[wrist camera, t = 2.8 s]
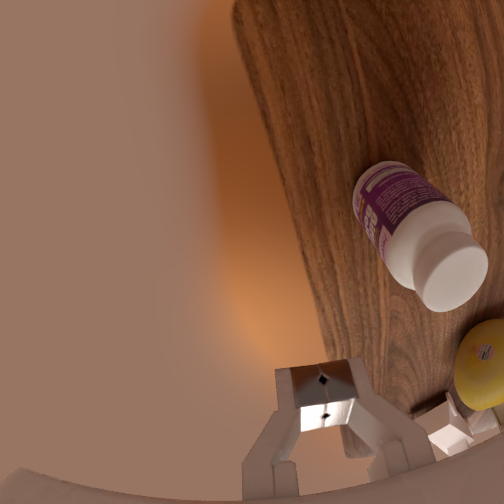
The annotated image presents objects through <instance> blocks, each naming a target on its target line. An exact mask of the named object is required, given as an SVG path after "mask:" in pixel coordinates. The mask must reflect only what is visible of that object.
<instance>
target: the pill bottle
mask: <svg viewBox="0 0 504 504" xmlns="http://www.w3.org/2000/svg"><path fill="white" fill-rule="evenodd" d="M353 209H354V213H355V215H356V217H357V219H358V221H359V222H360V224H361V226H362V227H363V229H364V230H365V232H366V234H367V235H368V237H369V238H370V240H371V242H372V243H373V245H374V246H375V248H376V250H377V251H378V253H379V254H380V256H381V258H382V259H383V261H384V263H385V264H386V266H387V268H388V270H389V271H390V273H391V275H392V276H393V277H394V278H395V279H396V281H398V282H399V283H400V284H401V285H403V286H404V287H406V288H409V289H412V290H416V292H417V294H418V295H419V296H420V298H421V299H422V301H423V302H424V304H425V305H426V307H427V308H429V309H430V310H432V311H435V312H446V311H449V310H452V309H455V308H457V307H459V306H460V305H462V304H464V303H465V302H466V301H468V300H469V299H470V298H471V297H472V296H473V295H474V294H475V293H476V291H477V290H478V289H479V287H480V286H481V284H482V283H483V281H484V279H485V276H486V273H487V269H488V258H487V255H486V253H485V251H484V249H483V248H482V247H481V246H480V245H479V244H478V243H477V242H476V241H475V239H474V238H473V237H472V232H471V227H470V223H469V221H468V219H467V217H466V215H465V214H464V212H463V211H462V210H461V209H460V208H459V207H458V206H457V205H456V204H454V203H453V202H452V201H451V200H450V199H449V198H447V197H446V196H445V195H444V194H443V193H441V192H440V191H439V190H438V189H436V188H435V187H434V186H433V185H432V184H430V183H429V182H428V181H427V180H425V179H424V178H423V177H422V176H420V175H419V174H418V173H417V172H415V171H414V170H413V169H411V168H410V167H408V166H407V165H405V164H403V163H401V162H397V161H383V162H380V163H378V164H376V165H374V166H372V167H370V168H369V169H368V170H367V171H365V172H364V173H363V175H362V176H361V177H360V178H359V180H358V182H357V184H356V186H355V188H354V192H353Z"/></svg>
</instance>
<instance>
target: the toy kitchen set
mask: <svg viewBox="0 0 504 504" xmlns="http://www.w3.org/2000/svg"><path fill="white" fill-rule="evenodd" d="M490 409H491V411H492V413H493V415H494V418H495V420H496V422H497V424H498V426H499V429H500V431H501V432H503V431H504V402H503V403H502V404H501V405H496V406H493V407H490Z"/></svg>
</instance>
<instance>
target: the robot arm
mask: <svg viewBox="0 0 504 504" xmlns="http://www.w3.org/2000/svg"><path fill="white" fill-rule="evenodd" d="M275 378H276V389H277V399H278V409H279V411H274V413H273V415H272V416H271V418H270V420H269V421H268V423H267V425H266V426H265V428H264V429H263V431H262V433H261V434H260V436H259V437H258V439H257V441H256V442H255V444H254V445H253V447H252V449H251V450H250V452H249V453H248V455H247V456H246V458H245V460H244V461H243V463H242V494H243V501H196V500H195V501H194V500H177V499H165V498H155V497H146V496H138V495H132V494H125V493H119V492H113V491H108V490H103V489H98V488H93V487H89V486H84V485H80V484H76V483H72V482H68V481H64V480H61V479H58V478H54V477H50V476H47V475H44V474H41V473H38V472H35V471H32V470H29V469H26V468H19V469H17V470H16V471H14V472H13V473H12V474H10V475H9V476H8V477H6V479H4V480H3V481H2V482H1V483H0V504H504V431H503V432H501V433H500V434H498V435H496V436H494V437H492V438H490V439H488V440H486V441H484V442H482V443H480V444H478V445H476V446H474V447H471V448H469V449H467V450H464V451H462V452H460V453H457V454H455V455H453V456H450V457H448V458H445V459H443V460H440V461H438V462H436V459H435V456H434V453H433V450H432V447H431V444H430V441H429V438H428V435H427V432H426V430H425V429H424V428H422V427H421V426H420V425H418V424H417V423H416V422H414V421H413V420H412V419H411V418H409V417H408V416H407V415H405V414H404V413H403V412H401V411H400V410H399V409H397V408H396V407H395V406H394V405H392V404H391V403H390V402H388V401H387V400H386V399H385V398H383V397H382V396H381V395H379V394H376V395H375V394H374V391H373V388H372V385H371V382H370V379H369V376H368V373H367V370H366V367H365V364H364V361H363V359H362V358H361V357H355V358H350V359H342V360H337V361H331V362H325V363H320V364H315V365H308V366H300V367H291V368H282V369H275ZM343 424H347V425H348V426H349V427H350V428H351V429H352V430H353V431H354V432H355V433H356V434H357V435H358V436H359V437H360V438H361V439H362V440H363V441H364V442H365V443H366V444H367V445H368V446H369V447H370V448H371V449H372V450H373V451H374V452H375V453H376V454H377V456H376V457H375V459H374V460H373V462H372V463H371V465H370V466H369V468H368V474H369V479H370V483H367V484H362V485H358V486H354V487H349V488H345V489H339V490H334V491H328V492H323V493H317V494H311V495H303V496H300V495H299V488H298V480H297V472H296V465H295V463H294V462H292V461H287V459H288V457H289V455H290V453H291V451H292V449H293V447H294V444H295V443H296V441H297V439H298V437H299V435H300V432H301V431H307V430H313V429H318V428H324V427H330V426H337V425H343Z"/></svg>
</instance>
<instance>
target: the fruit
mask: <svg viewBox="0 0 504 504" xmlns="http://www.w3.org/2000/svg"><path fill="white" fill-rule="evenodd" d="M454 383H455V387H456V390H457V393H458V395H459V397H460V399H461V400H462V401H463V403H464V404H465V405H467V406H468V407H469V408H471V409H474V410H484V409H488V408H490V407H493V406H496V405H501V404H502V403H503V402H504V319H491V320H487V321H484V322H482V323H479V324H477V325H476V326H474V327H473V328H472V329H471V330H470V331H469V332H468V333H467V334H466V336H465V337H464V339H463V340H462V342H461V344H460V346H459V349H458V351H457V354H456V358H455V366H454Z"/></svg>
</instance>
